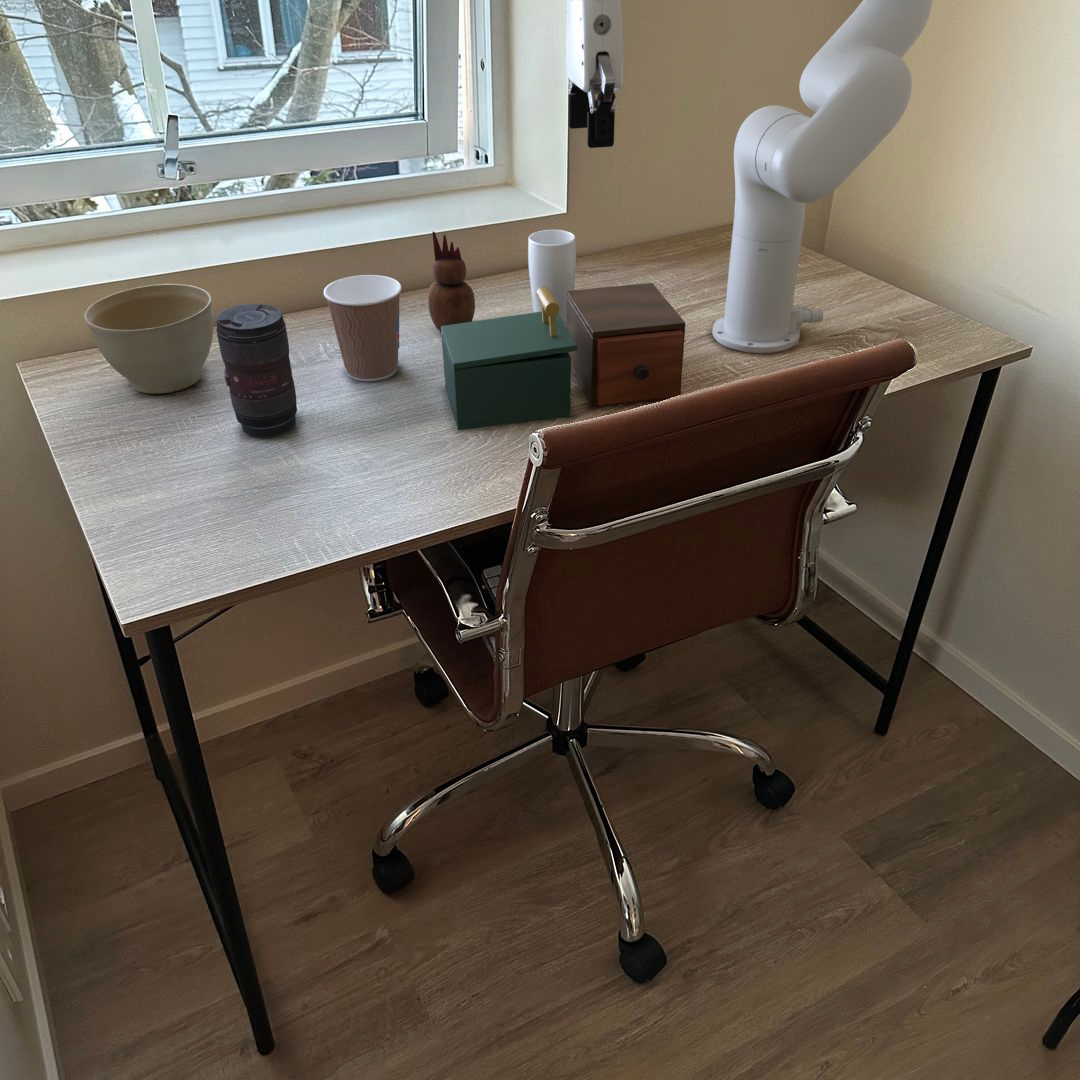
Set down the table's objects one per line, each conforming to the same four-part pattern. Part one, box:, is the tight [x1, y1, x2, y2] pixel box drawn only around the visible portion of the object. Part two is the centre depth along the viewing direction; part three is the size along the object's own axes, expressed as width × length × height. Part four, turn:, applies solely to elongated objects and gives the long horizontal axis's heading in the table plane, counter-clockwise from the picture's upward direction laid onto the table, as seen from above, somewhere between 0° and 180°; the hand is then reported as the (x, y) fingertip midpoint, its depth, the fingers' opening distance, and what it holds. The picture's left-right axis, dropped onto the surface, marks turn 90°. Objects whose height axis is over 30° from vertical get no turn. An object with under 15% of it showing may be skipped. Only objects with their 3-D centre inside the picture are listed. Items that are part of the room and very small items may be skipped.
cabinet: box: [567, 282, 686, 409], centre depth 136 cm, size 14×12×11 cm
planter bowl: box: [84, 283, 214, 395], centre depth 138 cm, size 16×16×11 cm
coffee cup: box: [323, 274, 403, 382], centre depth 139 cm, size 10×10×12 cm
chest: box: [440, 332, 572, 431], centre depth 132 cm, size 15×12×8 cm
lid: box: [440, 287, 577, 369], centre depth 128 cm, size 15×12×5 cm
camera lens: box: [215, 303, 298, 439], centre depth 126 cm, size 8×8×15 cm
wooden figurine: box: [427, 231, 476, 333], centre depth 149 cm, size 7×6×15 cm
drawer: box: [596, 330, 684, 406], centre depth 134 cm, size 14×11×9 cm
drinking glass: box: [527, 229, 577, 327], centre depth 147 cm, size 7×7×15 cm
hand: (590, 136), depth 127 cm, fingers open, 9 cm apart
